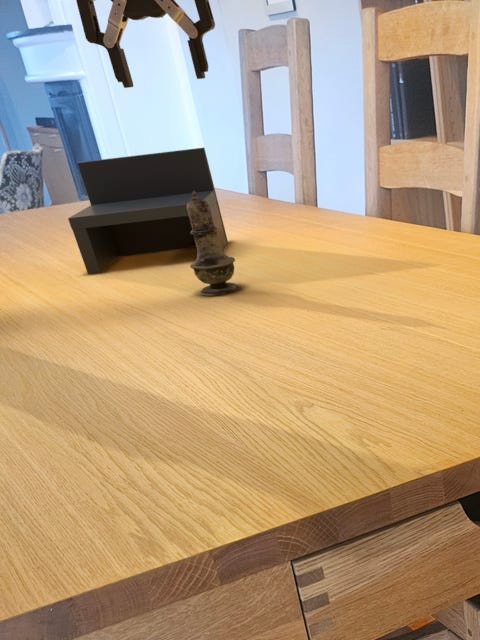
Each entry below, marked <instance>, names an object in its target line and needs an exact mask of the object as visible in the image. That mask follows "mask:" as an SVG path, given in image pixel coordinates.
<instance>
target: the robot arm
mask: <svg viewBox="0 0 480 640" xmlns="http://www.w3.org/2000/svg"><path fill="white" fill-rule="evenodd" d="M75 1H76V6H77V9H78V13H79V17H80V21H81V26H82V29H83V33H84V37H85V40H86V41H87V43H90V44H94V45H98V46H102V48H105V50H106V51H107V55H108V57H109V60H110V64H111V67H112V71H113V74H114V78H115V79H116V81H117V82H118V83H122V86H123V88H124V89H129V88H134V81H133V78H132V75H131V72H130V71H131V70H130V68H129V64H128V59H127V57H126V53H125V49H124V48H121V41H122V38H123V35H124V32H125V30H126V28H127V26H128V22H129V19H130V20H132V21H143V20H145V19H147V18H154V19H159V18H164V17H165V16H166V15H168V16H169V18H170V19H172V21H174V23H176V24H177V25H178V26H179V28H180V29H182V31H183V32H184V33H185V34H186V35H187V36H188V40H187V41H186V42H187V45H188V49H189V52H190V56H191V60H192V65H193V68H194V73H195V77H196V79H197V80H202V79H203V80H204V79H206V73H207V72H209V62H208V57H207V54H206V51H205V50H206V49H205V46H204V41H203V38H204V36H205V35H206V34H207V33H208V32H210V31H212V30H214V29H215V27H216V22H215V18H214V14H213V11H212V8H211V5H210V0H193V2H194V4H195V8H196V11H197V14H198V18H199V19H198V20H197V21H196V22H194V21H193V19H192V18H191V17H190V16H189V15H188V14H187V13H186V11H185V10H184V9H183V8H182V7H181V6H180V4H178V2H177V1H176V0H110V1H111V2H112V4H111V8H110V11H109V15H108V18H107V25H106V29H105V31H104V32H102V31H101V27H100V23H99V19H98V15H97V11H96V7H95V2H96V1H97V0H75Z"/></svg>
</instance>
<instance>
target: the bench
mask: <svg viewBox="0 0 480 640" xmlns="http://www.w3.org/2000/svg"><path fill="white" fill-rule="evenodd" d="M76 164H77V167H78V171H79V173H80V176H81V179H82V183H83V186H84V188H85V191H86V194H87V198H88V201H89V203H90V205H88V206H87V207H85V208H84V209H82V210H80V211H78V212H77V213H75V214H73V215H71V216H69V217H68V218H67V221H68V223H69V225H70V228H71V230H72V233H73V236H74V238H75V241H76V244H77V248H78V250H79V253H80V256H81V258H82V262H83V264H84V267H85V270H86V273H87V275H96V274H102V272H104V271H105V270H106V269H107V268H108V267H109V266H111V265H112V264H113V263H114V262H116V261H117V260H118V259H119V258H121V257H126V256H134V255H144V254H151V253H159V252H169V251H176V250H184V249H193V248H197V247H196V243H195V239H194V236H193V235H192V234H190V232H191V231H192V230H193V229H192V226H191V222H190V218H189V215H188V211H187V203H188V202H189V201H191V200H192V198H194V197H193V195H192V194H193V191H195V192H196V193H197V197H199V198H200V199H203V200H205V201H206V202H207V203H208V204H209V207H210V211H211V215H212V219H213V223H214V227H216V228H218V230H217V236H218V240H219V244H220V247H221V249H222V250H224V248H225V247H226V245H227V244H228V243H229V239H228V237H227V233H226V229H225V225H224V221H223V216H222V212H221V208H220V205H219V200H218V196H217V193H216V188H215V184H214V180H213V177H212V172H211V169H210V164H209V160H208V157H207V153H206V149H205V147H199V148H198V147H195V148H188V149H180V150H172V151H171V150H170V151H162V152H154V153H153V152H152V153H146V154H145V153H144V154H135V155H129V156H119V157H113V158H102V159H95V160H94V159H93V160H86V161H85V160H84V161H78V162H77V163H76Z"/></svg>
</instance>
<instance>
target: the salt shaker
mask: <svg viewBox="0 0 480 640" xmlns="http://www.w3.org/2000/svg"><path fill="white" fill-rule="evenodd" d="M192 195H193V197H194V198H192V200H191V201H189V202H188V203H187V211H188V215H189V218H190V222H191V226H192V229H193V230H192V231H191V232H190V234H192V235H193V236H194V239H195V243H196V247H195V248H196V253H197V256H196V257H197V258H196V259H195V261H194V262H192V263H191V264H190V265H189V268H190V269H192V270H193V273H194V275H195V276H196V278H197V279H198V281H200V282H201V283H203V284H207V285H206V286H205V287H203V288H202V289H201V290H200V292H199V295H200V296H202V297H203V296H204V297H215V296H223V295H227V294H231V293H235V292H236V291H238V290H240V288H241V287H240V285H238V284H236V283H235V282H228V281H230V280H231V279H232V278H233V276H234V274H235V265H234V263H235V262H236V258H235V257H232V256H228V255H227V254H225V252H224V251H223V249H221V247H220V244H219V240H218V236H217V230H218V228H216V227H214V223H213V219H212V215H211V211H210V207H209V204H208V203H207V202H206V201H205V200H203V199H200V198H199V197H197V193H196V192H195V191H193V194H192Z"/></svg>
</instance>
